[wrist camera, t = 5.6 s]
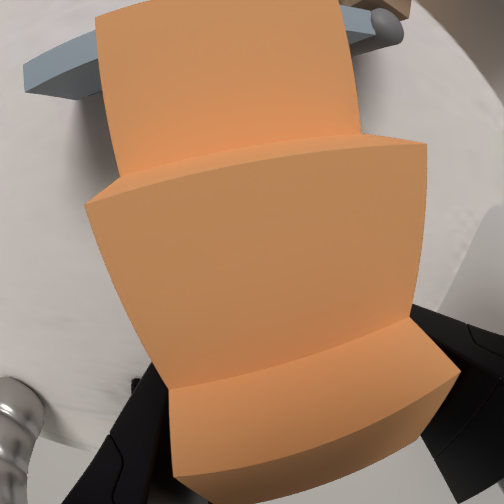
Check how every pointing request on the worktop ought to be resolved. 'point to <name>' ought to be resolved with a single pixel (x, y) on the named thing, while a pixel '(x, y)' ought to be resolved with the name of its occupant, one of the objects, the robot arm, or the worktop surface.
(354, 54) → the grey piece
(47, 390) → the worktop surface
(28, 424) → the silver bottle
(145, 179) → the orange stepped block
